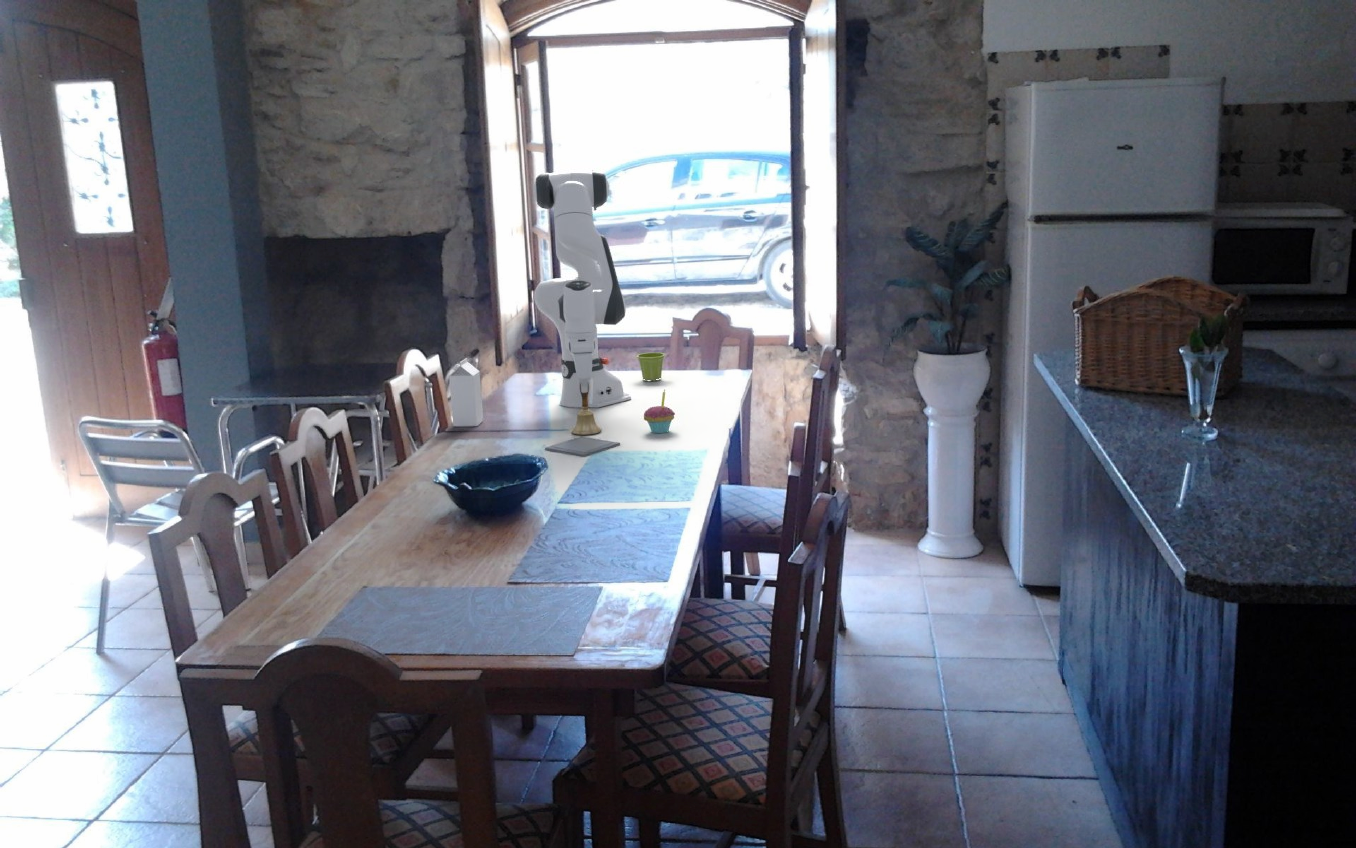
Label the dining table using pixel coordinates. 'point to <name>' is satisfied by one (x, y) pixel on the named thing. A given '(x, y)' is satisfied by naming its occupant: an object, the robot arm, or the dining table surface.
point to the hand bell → (585, 418)
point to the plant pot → (651, 365)
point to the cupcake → (659, 417)
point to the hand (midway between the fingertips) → (584, 390)
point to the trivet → (582, 446)
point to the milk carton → (466, 395)
